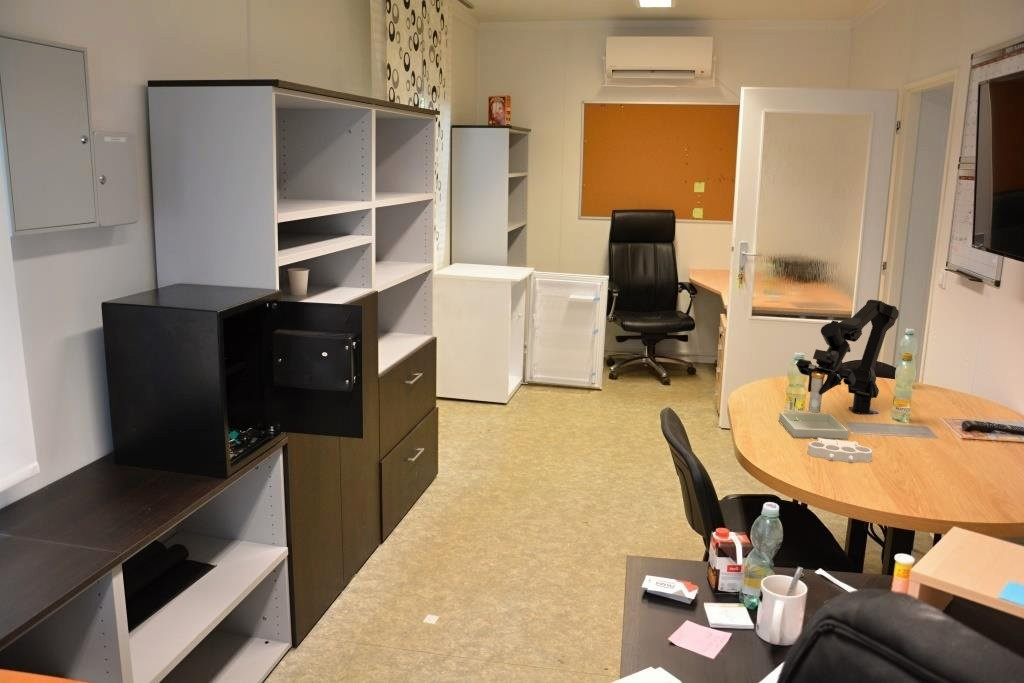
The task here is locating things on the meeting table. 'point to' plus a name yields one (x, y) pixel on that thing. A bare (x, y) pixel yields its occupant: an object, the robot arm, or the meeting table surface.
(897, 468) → the meeting table surface
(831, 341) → the robot arm
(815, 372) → the grey cylinder
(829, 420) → the tray
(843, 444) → the white brass knuckles
